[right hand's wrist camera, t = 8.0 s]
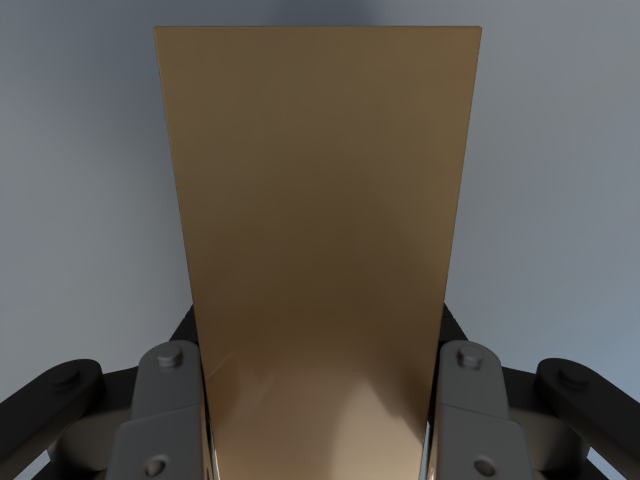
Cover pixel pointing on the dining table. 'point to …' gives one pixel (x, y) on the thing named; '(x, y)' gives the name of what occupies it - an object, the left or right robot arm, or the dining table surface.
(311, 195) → the bar
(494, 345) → the dining table surface
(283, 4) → the dining table surface
